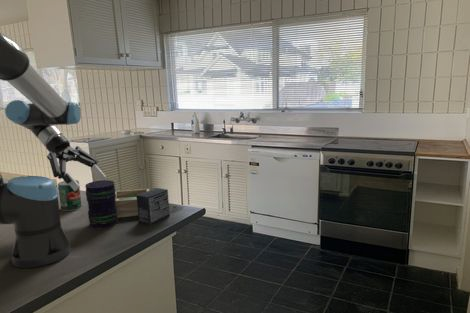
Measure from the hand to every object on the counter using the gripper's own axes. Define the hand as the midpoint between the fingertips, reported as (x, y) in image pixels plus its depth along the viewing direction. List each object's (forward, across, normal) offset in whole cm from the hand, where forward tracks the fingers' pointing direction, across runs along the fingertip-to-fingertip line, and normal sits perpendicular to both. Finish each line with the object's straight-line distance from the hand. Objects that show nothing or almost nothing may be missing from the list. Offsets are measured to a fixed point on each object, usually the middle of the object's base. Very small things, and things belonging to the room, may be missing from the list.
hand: (91, 183), depth 127 cm
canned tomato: (-3, -9, -24) cm, 26 cm away
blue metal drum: (+14, +2, -6) cm, 15 cm away
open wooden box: (+15, -13, -5) cm, 21 cm away
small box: (+25, -7, +5) cm, 26 cm away
